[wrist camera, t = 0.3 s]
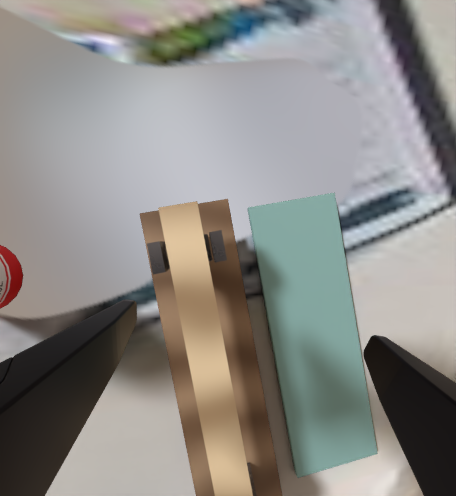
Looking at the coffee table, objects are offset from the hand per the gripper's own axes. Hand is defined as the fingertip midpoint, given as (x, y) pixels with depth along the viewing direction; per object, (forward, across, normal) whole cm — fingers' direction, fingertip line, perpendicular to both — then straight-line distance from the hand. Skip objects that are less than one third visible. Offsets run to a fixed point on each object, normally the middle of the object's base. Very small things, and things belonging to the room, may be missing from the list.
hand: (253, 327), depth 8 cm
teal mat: (+12, -9, +10) cm, 18 cm away
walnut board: (+10, +1, +13) cm, 16 cm away
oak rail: (+4, 0, +11) cm, 12 cm away
